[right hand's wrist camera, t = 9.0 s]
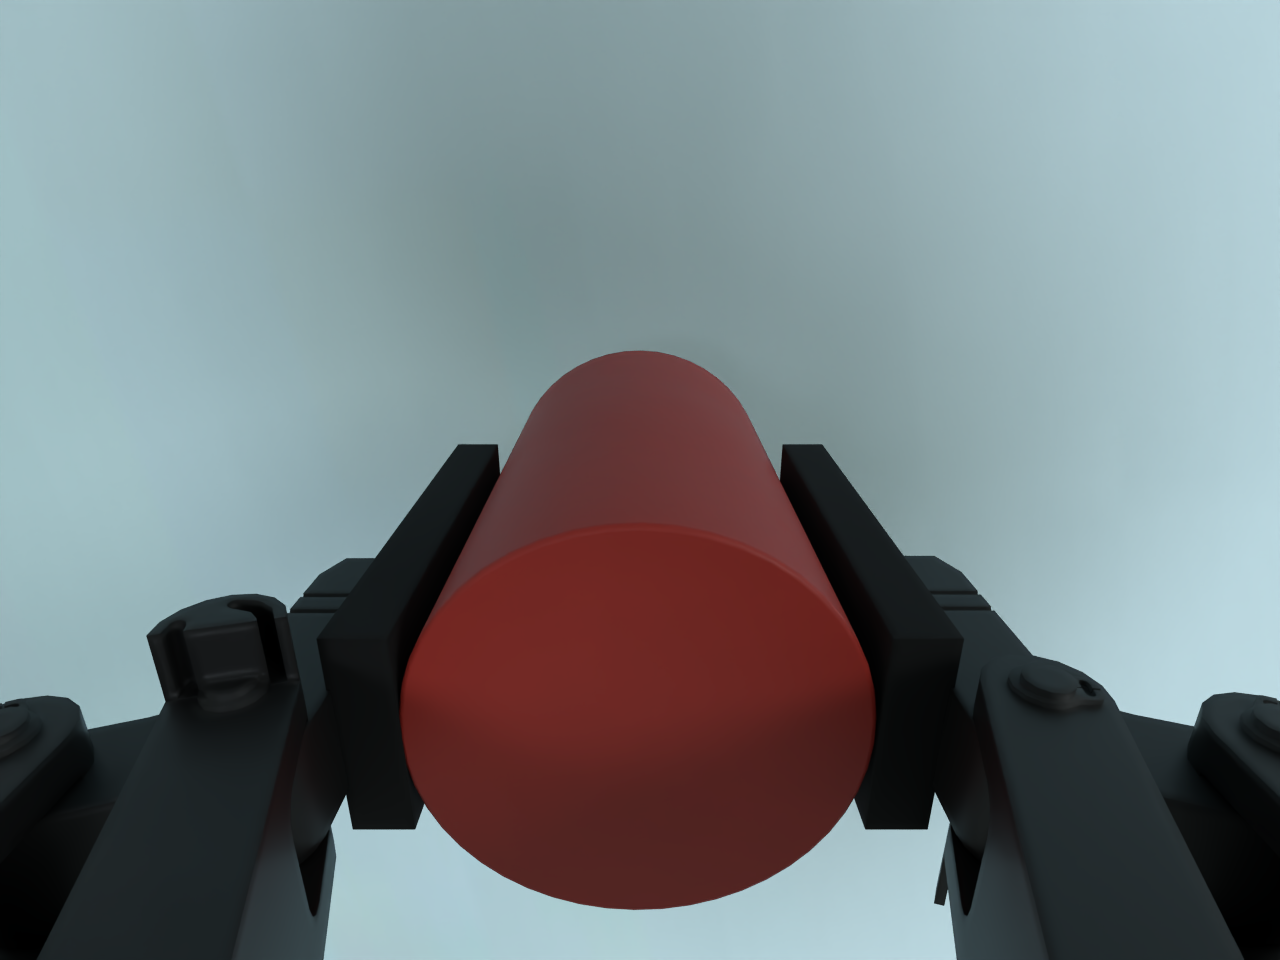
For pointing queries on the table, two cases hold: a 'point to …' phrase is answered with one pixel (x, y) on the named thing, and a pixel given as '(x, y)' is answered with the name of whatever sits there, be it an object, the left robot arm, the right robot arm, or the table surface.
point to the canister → (638, 655)
